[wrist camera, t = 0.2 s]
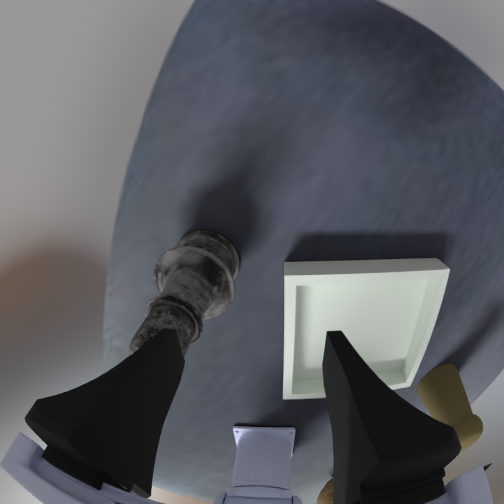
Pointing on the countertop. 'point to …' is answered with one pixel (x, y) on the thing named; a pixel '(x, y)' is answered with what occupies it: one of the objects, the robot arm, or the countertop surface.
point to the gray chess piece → (190, 288)
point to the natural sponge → (326, 493)
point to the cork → (450, 403)
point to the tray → (359, 317)
